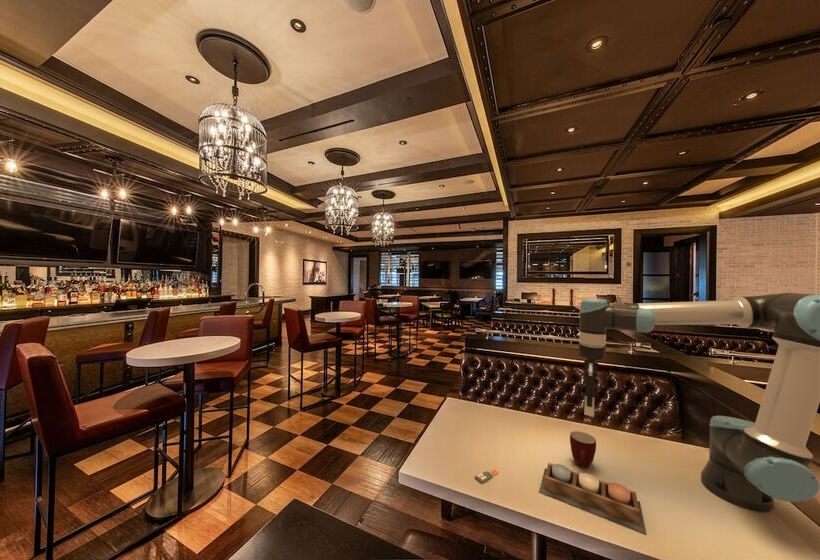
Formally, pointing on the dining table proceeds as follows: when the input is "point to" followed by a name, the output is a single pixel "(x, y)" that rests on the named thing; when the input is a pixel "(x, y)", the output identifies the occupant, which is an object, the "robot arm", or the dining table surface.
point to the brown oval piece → (619, 493)
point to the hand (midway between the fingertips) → (589, 414)
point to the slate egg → (561, 473)
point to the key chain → (486, 476)
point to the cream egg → (589, 483)
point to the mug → (582, 448)
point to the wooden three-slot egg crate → (594, 500)
